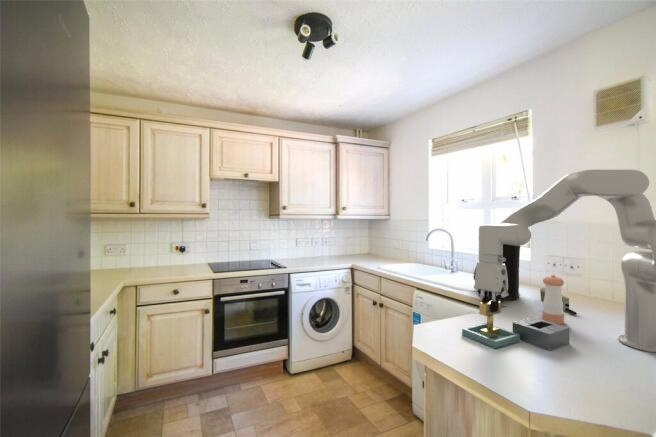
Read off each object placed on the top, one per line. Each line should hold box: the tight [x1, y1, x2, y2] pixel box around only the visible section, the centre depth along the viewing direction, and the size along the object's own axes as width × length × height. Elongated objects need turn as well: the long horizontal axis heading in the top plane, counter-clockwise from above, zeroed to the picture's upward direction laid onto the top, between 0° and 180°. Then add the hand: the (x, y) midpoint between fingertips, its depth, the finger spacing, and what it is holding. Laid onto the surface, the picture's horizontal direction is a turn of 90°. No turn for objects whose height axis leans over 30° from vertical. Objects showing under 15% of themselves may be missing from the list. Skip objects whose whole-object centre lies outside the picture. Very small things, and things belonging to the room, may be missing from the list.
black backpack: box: [473, 244, 521, 303], centre depth 163 cm, size 23×32×34 cm
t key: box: [479, 301, 502, 338], centre depth 106 cm, size 8×2×12 cm, turn 117°
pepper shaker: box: [541, 274, 565, 325], centre depth 124 cm, size 7×7×19 cm
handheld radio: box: [539, 287, 577, 316], centre depth 143 cm, size 7×3×25 cm
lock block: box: [512, 316, 570, 352], centre depth 105 cm, size 12×12×6 cm
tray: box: [461, 322, 521, 350], centre depth 107 cm, size 13×13×2 cm
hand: (490, 310), depth 106 cm, fingers closed on t key, 2 cm apart
